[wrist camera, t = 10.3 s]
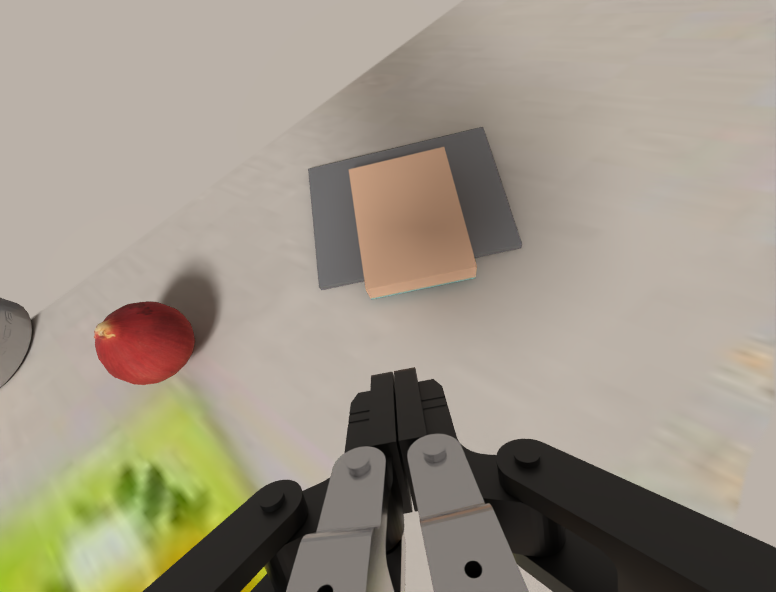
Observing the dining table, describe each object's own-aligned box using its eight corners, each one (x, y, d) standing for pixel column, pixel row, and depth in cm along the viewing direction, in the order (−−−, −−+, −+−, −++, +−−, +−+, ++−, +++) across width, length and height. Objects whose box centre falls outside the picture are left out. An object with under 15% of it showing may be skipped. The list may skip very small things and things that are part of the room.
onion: (142, 340, 32) (50, 308, 25) (204, 307, 32) (131, 266, 25) (157, 404, 30) (60, 389, 23) (224, 368, 30) (149, 342, 23)
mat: (321, 290, 31) (319, 287, 31) (310, 173, 36) (308, 168, 35) (520, 248, 30) (522, 244, 29) (482, 131, 34) (482, 126, 34)
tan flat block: (365, 289, 28) (348, 169, 32) (371, 299, 30) (354, 184, 34) (476, 266, 27) (444, 146, 31) (475, 278, 29) (444, 163, 33)
